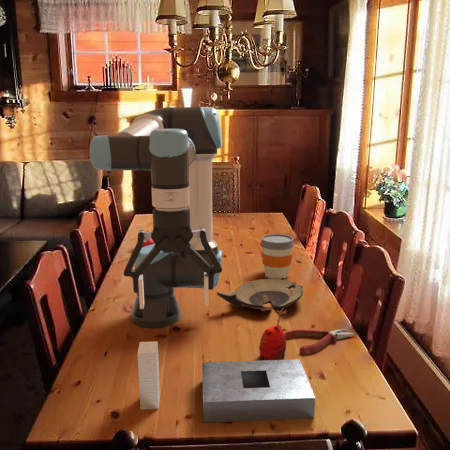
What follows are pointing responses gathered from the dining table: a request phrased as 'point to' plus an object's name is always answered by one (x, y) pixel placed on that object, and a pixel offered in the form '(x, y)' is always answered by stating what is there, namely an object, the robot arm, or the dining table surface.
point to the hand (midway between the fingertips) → (174, 304)
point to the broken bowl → (264, 294)
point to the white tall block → (148, 375)
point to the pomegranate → (148, 242)
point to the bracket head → (256, 391)
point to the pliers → (325, 336)
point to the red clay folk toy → (273, 342)
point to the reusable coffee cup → (277, 255)
